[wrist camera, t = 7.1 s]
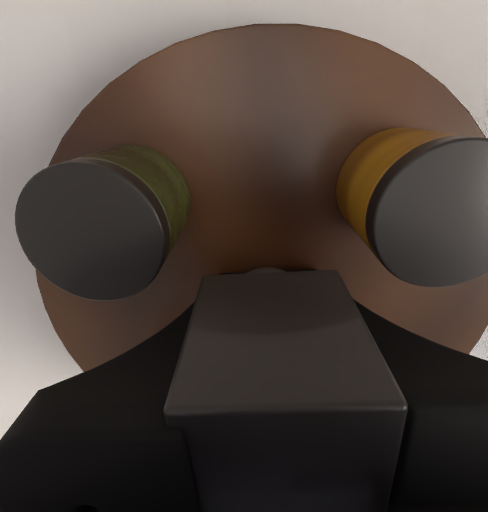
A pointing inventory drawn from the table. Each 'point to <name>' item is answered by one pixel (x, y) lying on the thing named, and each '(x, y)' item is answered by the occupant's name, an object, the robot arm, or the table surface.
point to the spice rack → (269, 249)
